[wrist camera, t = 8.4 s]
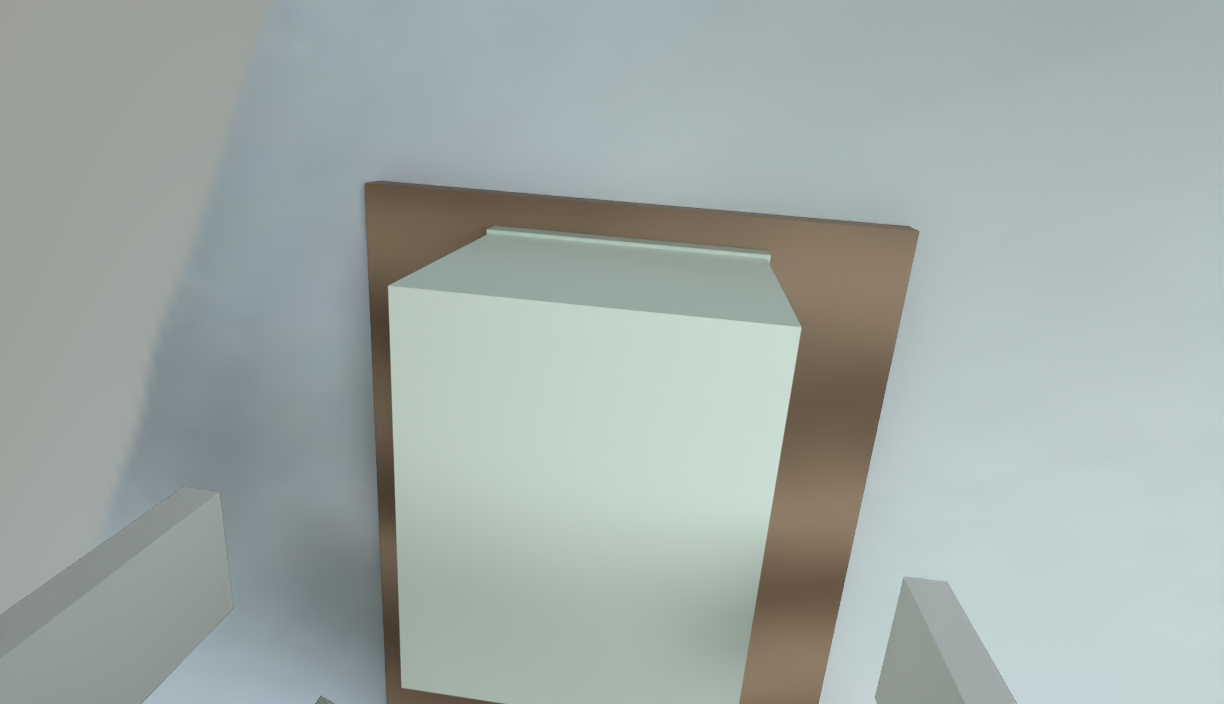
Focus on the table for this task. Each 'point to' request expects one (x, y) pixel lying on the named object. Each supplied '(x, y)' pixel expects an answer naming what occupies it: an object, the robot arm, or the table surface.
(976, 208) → the table surface
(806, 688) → the board
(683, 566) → the pale green block
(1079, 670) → the table surface
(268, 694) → the table surface
